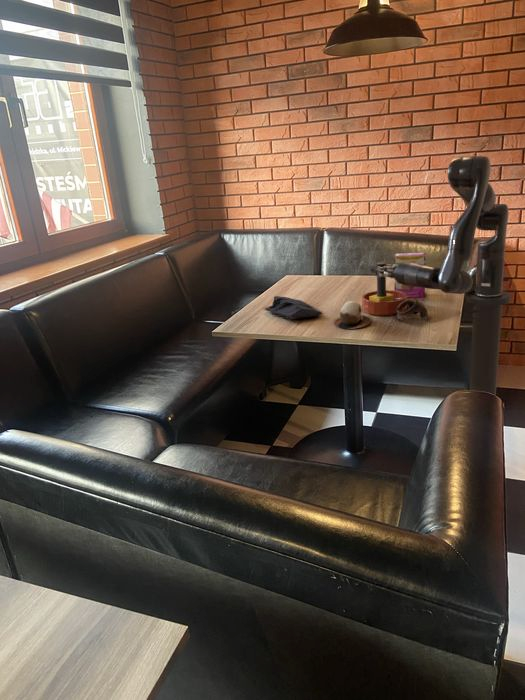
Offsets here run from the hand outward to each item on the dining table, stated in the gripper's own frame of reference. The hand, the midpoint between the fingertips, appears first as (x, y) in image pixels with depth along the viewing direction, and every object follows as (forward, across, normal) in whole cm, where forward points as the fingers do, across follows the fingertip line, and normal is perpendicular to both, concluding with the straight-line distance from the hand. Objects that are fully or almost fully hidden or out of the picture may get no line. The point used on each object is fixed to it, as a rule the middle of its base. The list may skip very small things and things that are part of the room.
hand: (375, 267), depth 187 cm
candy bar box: (+2, -19, +15) cm, 25 cm away
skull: (-6, +16, +15) cm, 23 cm away
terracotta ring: (-2, -2, +15) cm, 15 cm away
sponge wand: (-3, 0, +14) cm, 14 cm away
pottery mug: (-18, 0, +15) cm, 24 cm away
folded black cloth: (+20, +22, +15) cm, 34 cm away
